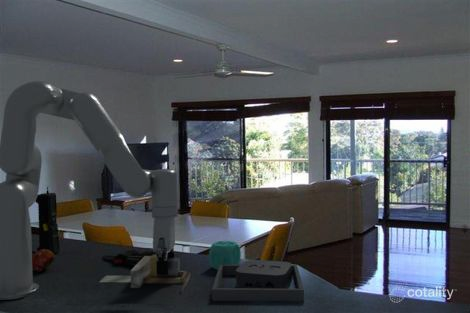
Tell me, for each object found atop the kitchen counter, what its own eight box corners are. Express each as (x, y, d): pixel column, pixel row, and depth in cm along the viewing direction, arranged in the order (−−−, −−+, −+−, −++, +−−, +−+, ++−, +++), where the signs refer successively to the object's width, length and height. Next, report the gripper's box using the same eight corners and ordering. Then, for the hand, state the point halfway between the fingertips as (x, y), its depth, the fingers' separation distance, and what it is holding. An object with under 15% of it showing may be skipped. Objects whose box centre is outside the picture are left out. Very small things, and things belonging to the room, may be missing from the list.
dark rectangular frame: (212, 300, 124) (211, 289, 124) (219, 274, 148) (219, 264, 148) (303, 301, 123) (303, 289, 123) (296, 274, 147) (296, 264, 147)
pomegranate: (58, 274, 157) (38, 254, 160) (66, 259, 155) (46, 239, 157) (40, 283, 151) (20, 262, 154) (48, 267, 148) (28, 246, 151)
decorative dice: (219, 263, 161) (219, 239, 161) (241, 265, 158) (240, 241, 158) (208, 269, 154) (208, 244, 154) (230, 271, 151) (230, 247, 150)
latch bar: (180, 278, 140) (179, 254, 140) (177, 281, 137) (177, 257, 136) (153, 277, 141) (153, 254, 141) (150, 281, 137) (150, 257, 137)
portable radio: (52, 257, 172) (50, 188, 171) (35, 257, 172) (33, 188, 171) (60, 252, 180) (58, 186, 178) (44, 252, 180) (42, 186, 179)
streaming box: (293, 279, 143) (293, 262, 143) (283, 294, 129) (283, 275, 129) (247, 275, 147) (247, 259, 147) (233, 290, 133) (233, 272, 133)
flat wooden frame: (89, 292, 132) (88, 270, 132) (107, 275, 148) (107, 255, 148) (181, 292, 131) (181, 270, 130) (190, 275, 147) (190, 256, 146)
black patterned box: (133, 244, 173) (97, 252, 161) (168, 246, 160) (133, 255, 149) (134, 259, 172) (98, 268, 161) (170, 262, 160) (134, 272, 148)
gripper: (158, 207, 147) (159, 262, 148) (144, 216, 130) (146, 278, 130) (182, 207, 146) (183, 262, 147) (172, 216, 129) (173, 278, 130)
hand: (165, 269), depth 139 cm, fingers open, 9 cm apart
